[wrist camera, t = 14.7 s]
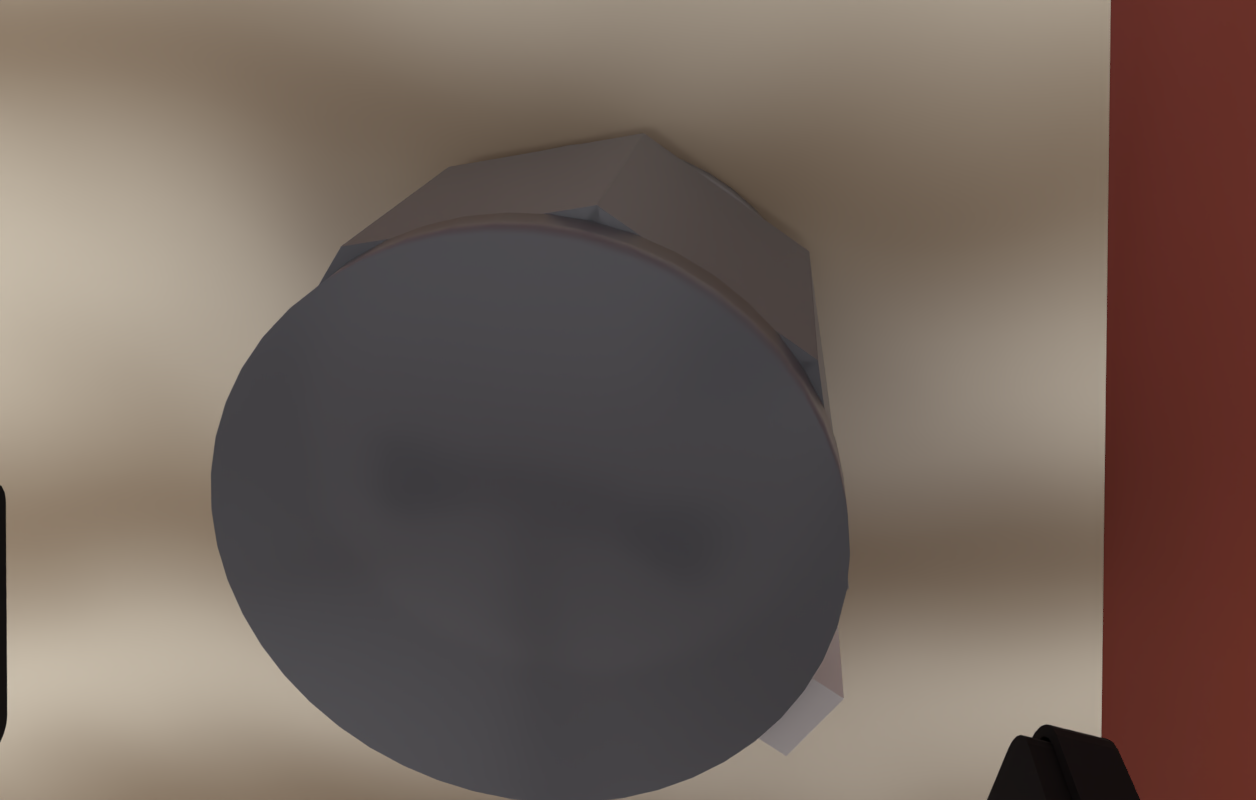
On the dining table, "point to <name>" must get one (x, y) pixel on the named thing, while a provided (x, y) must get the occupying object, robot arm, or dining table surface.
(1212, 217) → the dining table surface
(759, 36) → the board
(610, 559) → the cap
